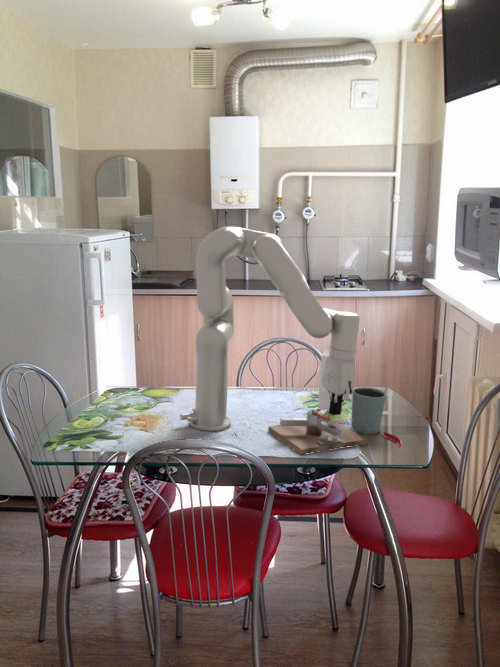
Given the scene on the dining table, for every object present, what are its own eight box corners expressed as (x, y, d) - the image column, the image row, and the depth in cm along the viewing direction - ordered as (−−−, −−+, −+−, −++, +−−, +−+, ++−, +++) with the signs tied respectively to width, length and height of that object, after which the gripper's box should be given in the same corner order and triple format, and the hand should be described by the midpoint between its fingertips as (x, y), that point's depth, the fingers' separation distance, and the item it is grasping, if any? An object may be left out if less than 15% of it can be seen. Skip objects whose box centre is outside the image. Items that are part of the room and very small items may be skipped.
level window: (321, 446, 164) (321, 444, 164) (316, 443, 167) (316, 441, 166) (342, 443, 168) (342, 440, 167) (337, 440, 170) (337, 437, 170)
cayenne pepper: (406, 449, 171) (406, 442, 170) (390, 448, 171) (390, 442, 170) (394, 433, 182) (395, 428, 182) (379, 433, 182) (380, 427, 182)
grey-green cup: (347, 422, 189) (350, 386, 187) (379, 424, 189) (382, 388, 187) (352, 434, 179) (355, 396, 177) (385, 435, 179) (389, 397, 177)
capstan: (338, 444, 165) (340, 422, 164) (277, 432, 172) (279, 410, 171) (352, 426, 180) (354, 406, 178) (295, 416, 187) (296, 396, 185)
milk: (332, 413, 198) (337, 349, 193) (317, 408, 202) (321, 345, 197) (342, 409, 202) (347, 346, 198) (327, 405, 206) (332, 343, 202)
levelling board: (300, 455, 162) (301, 449, 162) (268, 431, 178) (268, 426, 178) (366, 444, 172) (366, 439, 171) (329, 422, 188) (329, 418, 188)
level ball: (329, 442, 166) (329, 437, 166) (326, 440, 167) (326, 435, 167) (333, 441, 167) (333, 437, 166) (330, 439, 168) (330, 435, 168)
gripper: (317, 348, 178) (310, 406, 181) (346, 361, 165) (338, 423, 168) (338, 347, 181) (331, 404, 185) (368, 360, 168) (360, 421, 172)
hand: (334, 413), depth 177 cm, fingers closed
